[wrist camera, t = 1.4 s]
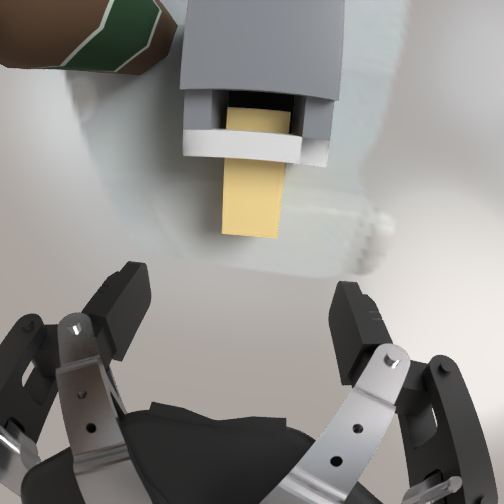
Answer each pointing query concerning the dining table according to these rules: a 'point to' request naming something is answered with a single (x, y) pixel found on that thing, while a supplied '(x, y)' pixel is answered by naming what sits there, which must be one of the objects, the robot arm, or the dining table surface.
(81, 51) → the beer bottle
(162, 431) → the robot arm
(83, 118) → the dining table surface
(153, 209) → the dining table surface
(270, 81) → the dispenser
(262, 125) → the yellow rectangular block
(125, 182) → the dining table surface
